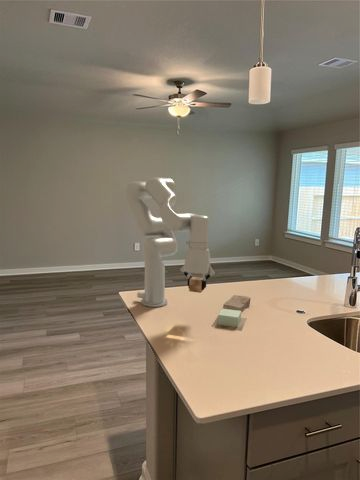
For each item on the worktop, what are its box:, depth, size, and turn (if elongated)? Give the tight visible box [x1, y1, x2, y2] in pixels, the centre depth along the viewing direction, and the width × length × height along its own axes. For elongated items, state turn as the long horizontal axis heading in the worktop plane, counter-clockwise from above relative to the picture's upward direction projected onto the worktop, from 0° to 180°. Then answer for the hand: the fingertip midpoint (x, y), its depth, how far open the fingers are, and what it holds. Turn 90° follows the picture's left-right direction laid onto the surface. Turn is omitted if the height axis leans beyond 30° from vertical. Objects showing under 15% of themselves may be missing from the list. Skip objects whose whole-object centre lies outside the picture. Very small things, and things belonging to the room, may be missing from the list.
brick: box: [222, 294, 251, 313], centre depth 167 cm, size 17×8×5 cm, turn 153°
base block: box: [217, 308, 242, 327], centre depth 148 cm, size 8×8×4 cm
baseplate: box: [211, 316, 247, 332], centre depth 148 cm, size 12×14×1 cm
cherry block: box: [188, 276, 204, 294], centre depth 150 cm, size 5×5×5 cm
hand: (196, 287), depth 151 cm, fingers closed on cherry block, 4 cm apart
